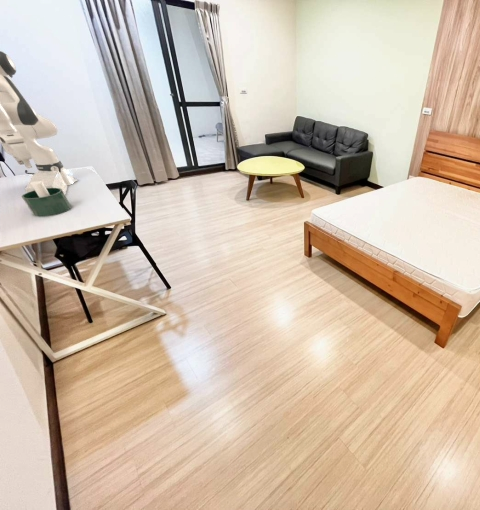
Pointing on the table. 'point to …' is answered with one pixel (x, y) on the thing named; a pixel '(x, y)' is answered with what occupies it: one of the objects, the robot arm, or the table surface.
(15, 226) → the table surface
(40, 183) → the tube
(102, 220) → the table surface
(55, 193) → the pot
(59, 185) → the cream long block
